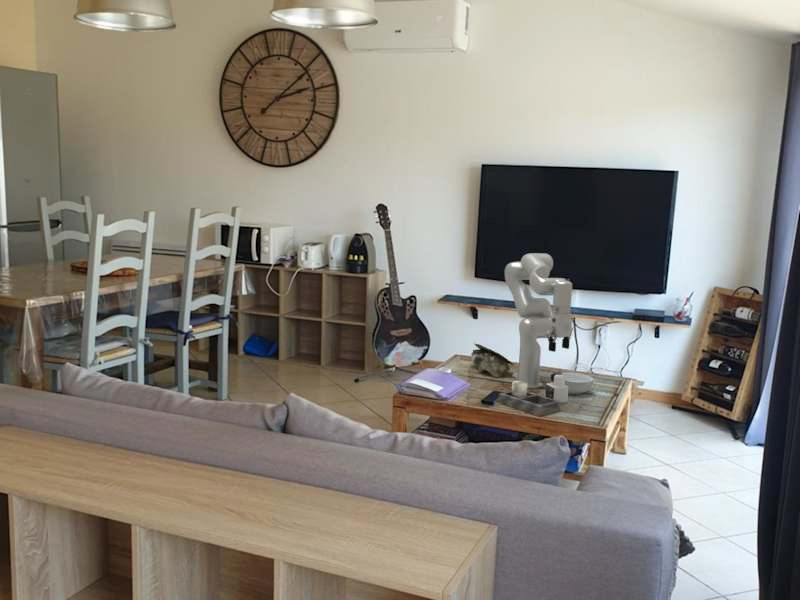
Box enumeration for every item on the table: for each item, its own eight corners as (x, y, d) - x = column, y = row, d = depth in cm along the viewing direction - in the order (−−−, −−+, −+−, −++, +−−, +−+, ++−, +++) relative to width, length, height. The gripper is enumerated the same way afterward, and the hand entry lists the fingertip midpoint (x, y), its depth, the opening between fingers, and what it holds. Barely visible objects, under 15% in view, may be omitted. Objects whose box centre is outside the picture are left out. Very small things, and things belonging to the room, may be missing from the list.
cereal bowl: (592, 398, 352) (593, 383, 351) (554, 395, 355) (555, 379, 354) (591, 388, 368) (592, 373, 367) (554, 385, 372) (555, 370, 371)
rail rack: (498, 402, 341) (499, 382, 339) (519, 397, 349) (520, 377, 348) (539, 416, 324) (540, 394, 322) (560, 410, 332) (561, 389, 331)
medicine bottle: (545, 399, 349) (546, 372, 347) (559, 398, 351) (561, 371, 349) (552, 403, 342) (554, 376, 340) (567, 402, 344) (569, 375, 342)
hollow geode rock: (474, 373, 407) (456, 353, 402) (491, 355, 409) (473, 335, 404) (500, 386, 381) (482, 365, 376) (518, 367, 383) (500, 345, 378)
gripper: (556, 313, 330) (554, 353, 332) (580, 309, 342) (577, 348, 344) (541, 310, 335) (539, 350, 338) (565, 306, 347) (563, 345, 350)
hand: (558, 349), depth 341 cm, fingers open, 9 cm apart
